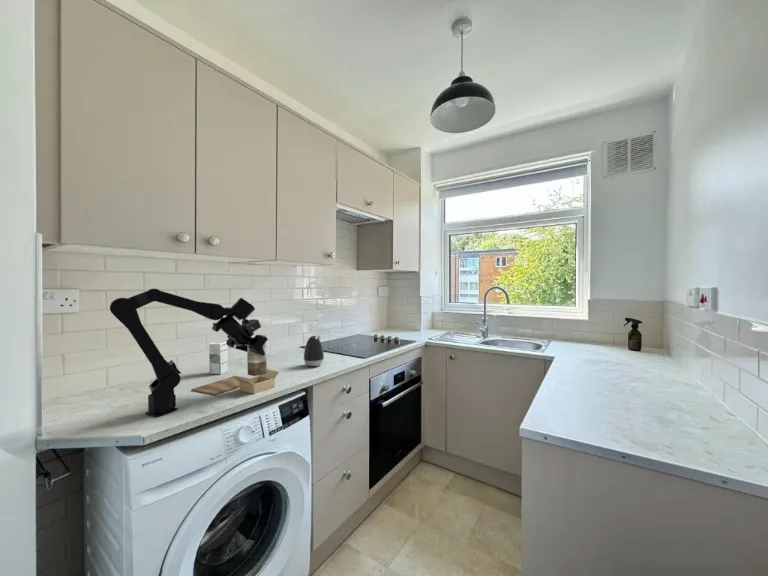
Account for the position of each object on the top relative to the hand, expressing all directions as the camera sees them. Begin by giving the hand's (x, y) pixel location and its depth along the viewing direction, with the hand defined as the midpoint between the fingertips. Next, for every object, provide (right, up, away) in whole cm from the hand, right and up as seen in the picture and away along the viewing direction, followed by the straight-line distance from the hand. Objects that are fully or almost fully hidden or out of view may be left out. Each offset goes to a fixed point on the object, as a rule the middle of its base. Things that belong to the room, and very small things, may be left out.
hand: (259, 353), depth 126 cm
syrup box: (-28, -14, +23) cm, 39 cm away
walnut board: (-15, -14, +3) cm, 21 cm away
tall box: (-1, -8, -1) cm, 8 cm away
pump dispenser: (+14, -13, +35) cm, 40 cm away
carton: (-1, -13, -1) cm, 14 cm away
